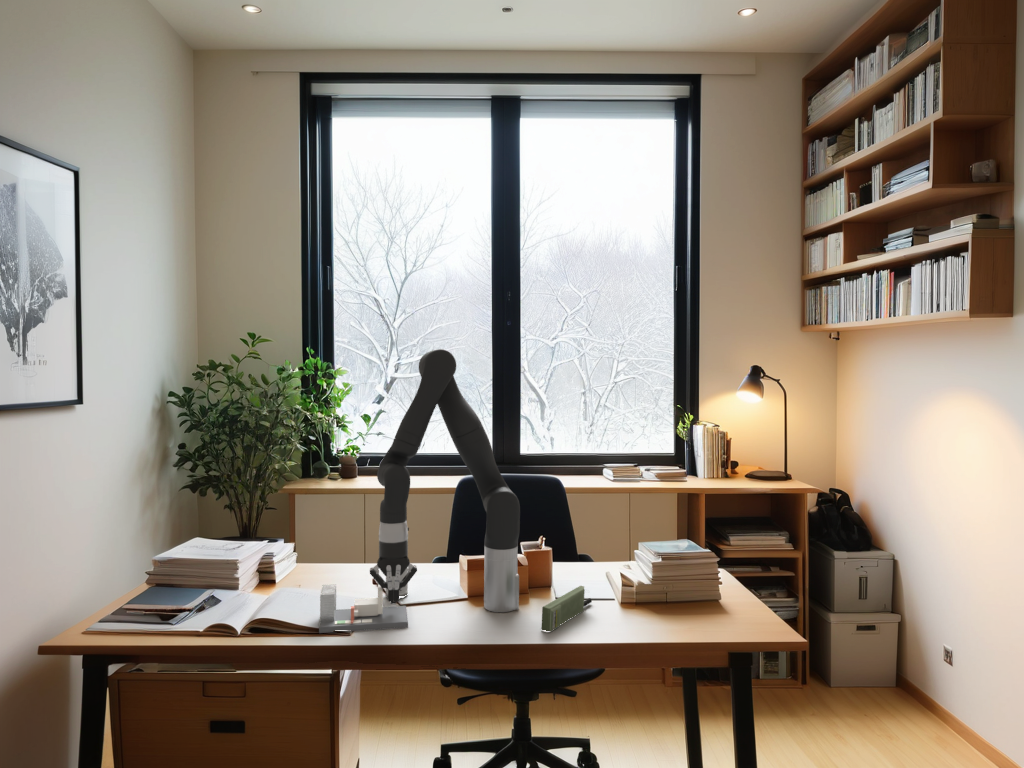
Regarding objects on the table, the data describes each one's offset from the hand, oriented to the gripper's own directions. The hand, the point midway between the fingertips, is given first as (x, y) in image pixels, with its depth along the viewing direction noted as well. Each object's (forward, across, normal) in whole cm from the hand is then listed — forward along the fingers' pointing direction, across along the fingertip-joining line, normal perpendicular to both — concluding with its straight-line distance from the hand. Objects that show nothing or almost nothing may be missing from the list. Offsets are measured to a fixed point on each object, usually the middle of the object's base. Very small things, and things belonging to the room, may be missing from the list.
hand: (393, 602), depth 186 cm
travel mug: (+4, -2, -18) cm, 18 cm away
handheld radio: (+5, -46, +7) cm, 47 cm away
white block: (+2, +6, +1) cm, 7 cm away
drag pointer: (+2, +11, +5) cm, 12 cm away
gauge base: (+4, +8, +1) cm, 9 cm away
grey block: (+3, +17, 0) cm, 17 cm away
